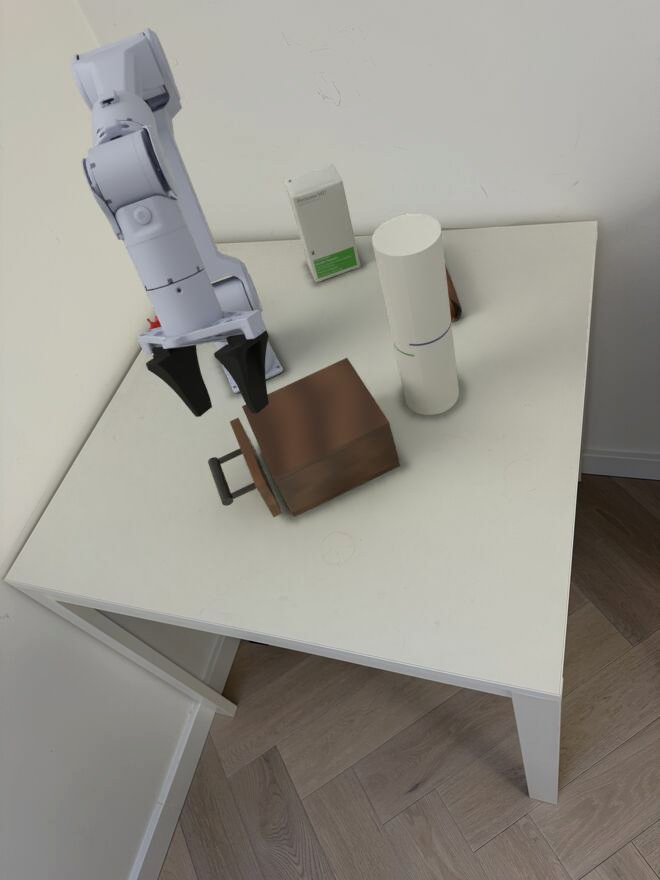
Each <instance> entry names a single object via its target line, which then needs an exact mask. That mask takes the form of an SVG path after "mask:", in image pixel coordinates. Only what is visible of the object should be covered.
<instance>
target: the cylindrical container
mask: <svg viewBox="0 0 660 880" xmlns="http://www.w3.org/2000/svg"><path fill="white" fill-rule="evenodd" d="M371 244H372V247H373V253H374V257H375V263H376V268H377V271H378V278H379V282H380V286H381V290H382V296H383V301H384V304H385V305H384V306H385V310H386V314H387V320H388V324H389V329H390V334H391V338H392V339H391V340H392V343H393V349H394V353H395V357H396V358H395V359H396V363H397V367H398V372H399V376H400V382H401V385H402V386H401V387H402V391H403V395H404V400H405V403H406V405H407V406H408V408H409V409H410V410H412V412H414V413H417V414H419V415H424V416H435V415H440V414H443V413H445V412H447V411H448V410H450V409H451V408H452V407H453V406H454V405H455V404H456V403H457V401H458V399H459V395H460V387H459V378H458V370H457V363H456V362H457V361H456V352H455V344H454V343H455V342H454V333H453V324H452V323H453V322H451V314H450V305H449V296H448V287H447V278H446V269H445V264H446V261H445V251H444V241H443V233H442V225H441V223H440V222H439V221H438V220H437V219H436V218H435V217H433V216H431V215H428V214H425V213H405V214H401V215H397V216H394V217H392V218H389V219H388V220H385V221H384V222H383V223H381V224H380V225H379V226H378V227H377V228H376V229H375V231H374V232H373V234H372V236H371Z"/></svg>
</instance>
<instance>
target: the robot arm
mask: <svg viewBox="0 0 660 880" xmlns="http://www.w3.org/2000/svg"><path fill="white" fill-rule="evenodd" d="M70 70H71V73H72V76H73V79H74V82H75V84H76V87H77V88H78V91H79V94H80V95H81V97H82V99H83V101H84V103H85V104H86V106H87V107H88V110H90V112H91V114H90V124H91V139H92V147H89V148H88V149H87V157H83V158H81V160H80V161H81V169H82V173H83V175H84V178H85V181H86V184H87V186H88V188H89V190H90V192H91V194H92V197H93V199H94V200H95V202H96V204H97V205H98V206H99V207H98V208H100V210H101V211H102V213H103V214H104V216H105V218H106V219H107V222H108V224H109V225H110V227H111V230H112V232H113V233H114V236H115V237H116V239H117V240H118V241H122V242H123V245H124V246H125V249H126V251H127V253H128V256H129V258H130V260H131V262H132V264H133V267H134V269H135V271H136V273H137V276H138V278H139V280H140V282H141V285H142V287H143V289H144V291H145V293H146V296H147V298H148V300H149V302H150V304H151V306H152V309H153V311H154V313H155V316H157V318H158V320H159V322H160V324H161V326H162V327H159V328H154V329H150V328H149V329H150V330H149V329H148V330H147V331H145V332H143V333H141V334H140V335H138V336H137V337H136V339H137V341H138V342H139V346H140V347H141V349H142V351H143V353H144V355H150V354H151V355H152V354H153V355H152V358H151V359H150V360H148V361H146V363H145V367H146V368H147V370H148V371H149V372H151V373H152V374H153V375H155V376H156V377H158V379H160V380H162V381H163V382H164V383H165V384H166V385H168V387H170V389H171V390H173V392H174V393H176V395H177V396H178V397H179V398H180V400H181V401H182V402H183V404H184V405H186V407H187V408H188V409H189V411H190V412H191V413H192V414H193V416H194V417H196V418H200V417H202V416H203V415H204V414H206V413H207V412H209V410H210V409H212V408H213V405H212V400H211V396H210V393H209V391H208V388H207V385H206V383H205V381H204V377H203V375H202V372H201V367H200V363H199V357H198V352H197V351H198V349H197V345H203V344H210V343H211V344H212V345H213V347H214V348H215V352H213V355H214V358H215V359H216V360H217V361H218V362H219V363H220V364H221V366H222V369H223V371H224V373H225V375H226V378H227V380H228V383H229V385H230V387H231V390H232V392H233V393H234V394H238V393H240V395H241V397H242V399H243V401H244V402H245V405H247V407H248V408H249V410H250V411H251V413H252V414H255V413H259V412H260V411H261V410H262V409H263V408H265V407H266V406H267V405H268V404H269V402H268V395H267V394H268V388H267V380H268V379H270V378H272V377H275V376H277V375H279V374H281V373H283V371H284V368H283V366H282V365H281V363H280V361H279V358H278V357H277V355H276V353H275V351H274V349H273V347H272V346H271V343H270V342H269V332H268V328H267V327H266V324H265V320H264V318H263V316H262V312H263V307H262V306H263V305H262V303H261V301H260V297H259V294H258V291H257V288H256V286H255V283H254V281H253V278H252V276H251V273H249V271H248V268H247V266H246V263H244V262H243V260H241V259H240V258H238V257H235V256H232V255H229V254H226V253H222V252H220V251H219V250H218V247H217V245H216V244H217V243H216V242H215V239H214V237H213V233H212V231H211V229H210V226H209V224H208V221H207V218H206V216H205V213H204V211H203V208H202V205H201V203H200V201H199V198H198V195H197V193H196V190H195V187H194V185H193V183H192V180H191V177H190V175H189V172H188V169H187V167H186V165H185V162H184V159H183V157H182V154H181V152H180V149H179V147H178V144H177V142H176V139H175V132H174V123H173V119H174V118H175V117H176V116H177V114H178V113H179V112H180V111H181V110H182V108H183V106H182V103H181V95H180V92H179V90H178V86H177V84H176V81H175V77H174V75H173V72H172V69H171V66H170V63H169V61H168V58H167V56H166V53H165V51H164V48H163V45H162V43H161V41H160V38H159V35H158V34H157V33H156V32H155V31H154V30H152V29H151V28H149V27H147V28H144V29H143V31H140V32H138V33H135V34H133V35H130V36H127V37H124V38H122V39H119V40H116V41H113V42H110V43H108V44H105V45H103V46H100V47H97V48H95V49H92V50H89V51H86V52H83V53H81V54H78V53H76V54H73V55H72V56H71V61H70Z"/></svg>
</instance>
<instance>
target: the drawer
mask: <svg viewBox="0 0 660 880" xmlns="http://www.w3.org/2000/svg"><path fill="white" fill-rule="evenodd" d="M229 424H230V426H231V429H232V431H233V434H234V437H235V439H236V441H237V443H238V444H237V445H238V446H239V448H237V449H235V450H233V451H231V452H229V453H227V454H225V455H223V456H221V457H216V456H213V457H211V458H209V459H208V460H207V464H208V466H209V470H210V473H211V476H212V478H213V481H214V484H215V488H216V491H217V494H218V495H219V499H220V501H221V504H222V506H224V507H226V506H227V507H228V506H231V505H232V504H233V503H234V500H235V499H237V498H240V497H242V496H243V495H245V494H248V493H250V492H252V491H255V490H257V491H258V493H259V495H260V497H261V498H262V500H263V502H264V504H265V505H266V507H267V509H268V510H269V512H270V514H271V515H272V517H273V518H276V517H278V516H280V515H282V514H283V511H282V509H281V505H280V504H279V502H278V501H279V500H278V498H277V497H276V494H275V492H274V489H273V488H272V485H271V482H270V480H269V478H268V475H267V473H266V471H265V468H264V466H263V464H262V461H261V459H260V456H259V453H258V452H257V450H256V448H255V445H254V444H253V442H252V440H251V438H250V436H249V435H248V433H247V431H246V429H245V428H244V425H243V423H242V422H241V420H240V418H239V417H236V418H234V419H231V420H230V421H229ZM241 455H242V456H243V459H244V461H245V463H246V466H247V468H248V471H249V473H250V475H251V478H252V481H253V482H251V483H249V484H247V485H245V486H243V487H241V488H239V489H237V490H235V491H233V492H232V491H231V489H230V485H229V484H228V480H227V478H226V475H225V472H224V470H223V467H222V464H224V463H227V462H228V461H231V460H234V459H235V458H237V457H239V456H241Z"/></svg>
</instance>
